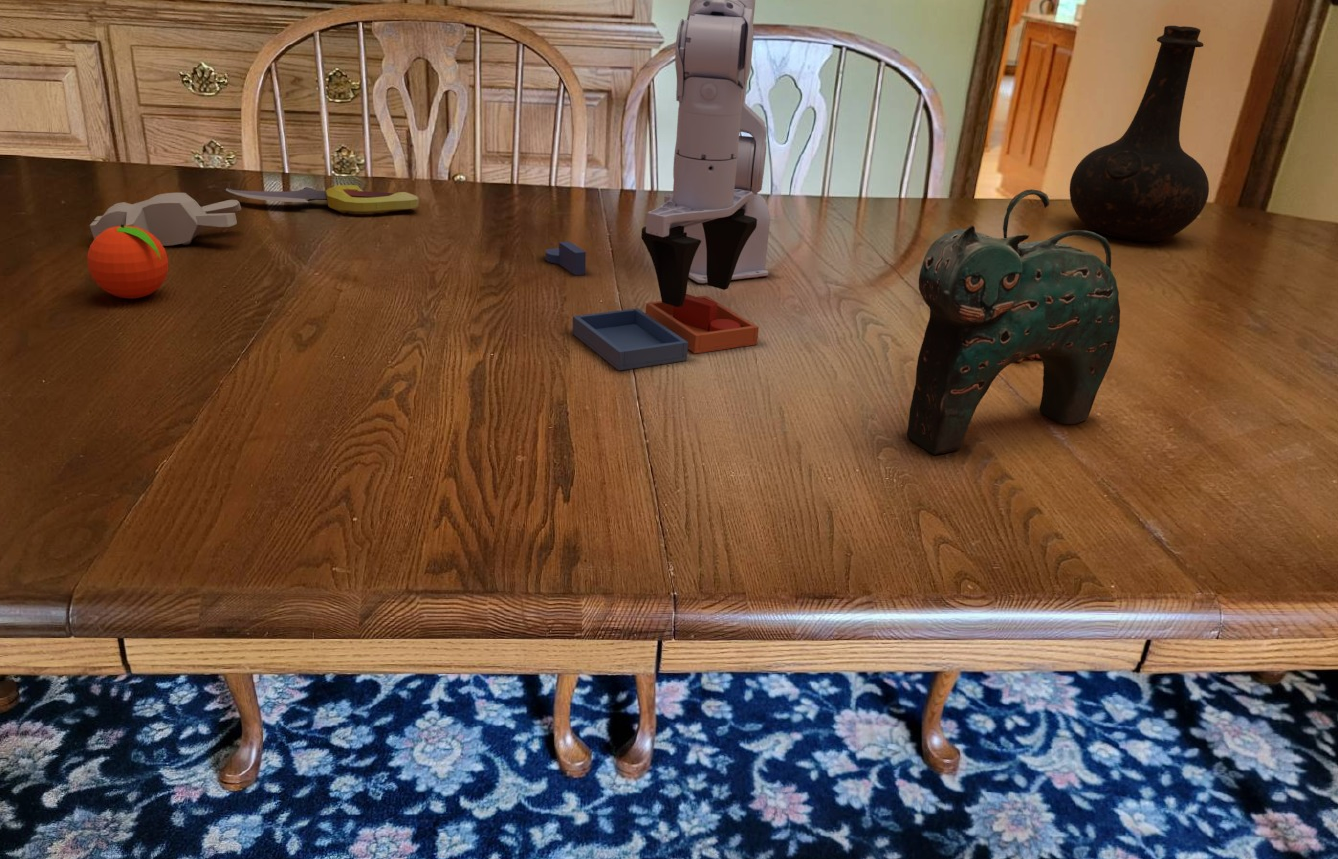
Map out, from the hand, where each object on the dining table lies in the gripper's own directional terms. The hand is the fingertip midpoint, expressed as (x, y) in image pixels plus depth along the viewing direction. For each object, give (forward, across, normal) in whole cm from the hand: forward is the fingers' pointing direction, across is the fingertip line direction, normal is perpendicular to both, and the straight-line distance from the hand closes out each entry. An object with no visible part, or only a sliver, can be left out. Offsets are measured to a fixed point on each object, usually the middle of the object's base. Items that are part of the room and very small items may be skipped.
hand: (695, 295), depth 103 cm
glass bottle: (+4, -78, +20) cm, 81 cm away
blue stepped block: (+3, -6, -22) cm, 23 cm away
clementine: (+3, +34, -42) cm, 54 cm away
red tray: (+3, 0, +1) cm, 4 cm away
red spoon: (+3, 0, +1) cm, 3 cm away
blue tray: (+3, +9, -1) cm, 9 cm away
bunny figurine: (+3, +21, -58) cm, 62 cm away
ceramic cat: (+3, +1, +32) cm, 32 cm away
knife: (+4, 0, -60) cm, 60 cm away
